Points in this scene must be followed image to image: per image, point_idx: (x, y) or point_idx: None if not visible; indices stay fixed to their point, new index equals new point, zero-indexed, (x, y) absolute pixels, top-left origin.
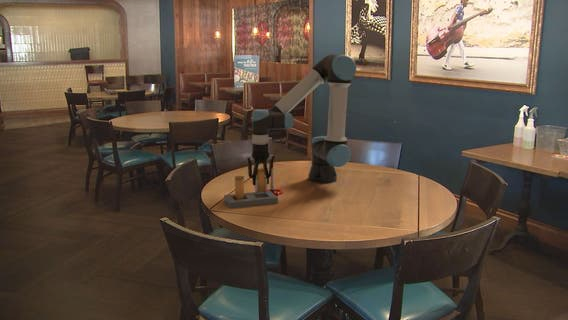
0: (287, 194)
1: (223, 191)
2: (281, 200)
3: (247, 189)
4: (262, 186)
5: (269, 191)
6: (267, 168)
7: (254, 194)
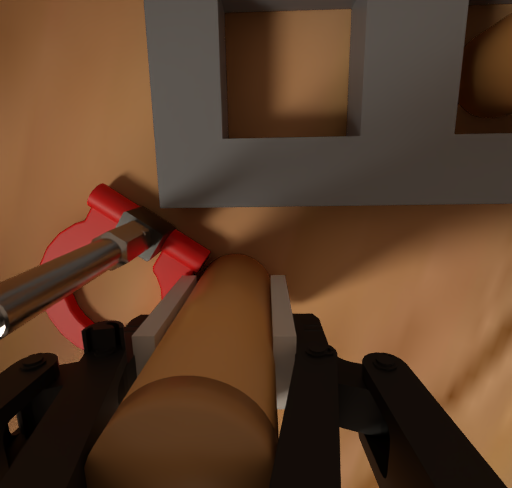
0: (20, 200)
1: (501, 436)
2: (106, 29)
3: None
4: (220, 277)
5: (172, 183)
6: (10, 469)
7: (345, 137)
